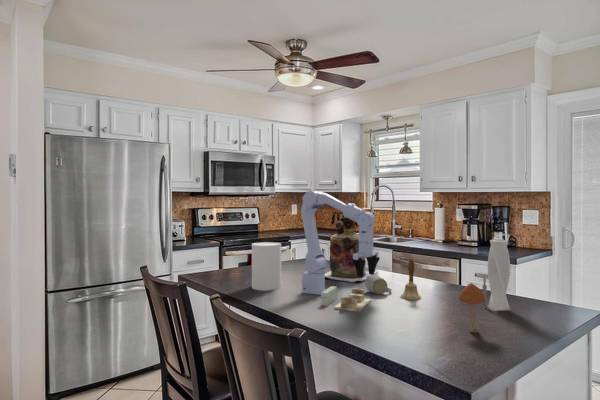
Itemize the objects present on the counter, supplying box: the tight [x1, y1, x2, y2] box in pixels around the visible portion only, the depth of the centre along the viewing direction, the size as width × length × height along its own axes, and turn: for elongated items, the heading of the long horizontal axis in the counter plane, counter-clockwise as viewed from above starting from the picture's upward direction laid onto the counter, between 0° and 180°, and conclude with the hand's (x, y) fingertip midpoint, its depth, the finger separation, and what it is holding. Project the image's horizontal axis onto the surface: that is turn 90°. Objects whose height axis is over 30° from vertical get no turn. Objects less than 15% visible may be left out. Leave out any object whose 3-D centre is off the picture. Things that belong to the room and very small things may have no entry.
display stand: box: [333, 287, 372, 313], centre depth 154 cm, size 10×16×4 cm, turn 157°
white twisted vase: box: [481, 233, 511, 312], centre depth 148 cm, size 8×8×28 cm
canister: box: [251, 241, 282, 292], centre depth 184 cm, size 14×14×20 cm
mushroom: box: [457, 282, 486, 333], centre depth 123 cm, size 8×8×15 cm
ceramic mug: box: [364, 274, 393, 296], centre depth 173 cm, size 11×8×8 cm
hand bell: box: [400, 258, 422, 301], centre depth 164 cm, size 8×8×16 cm
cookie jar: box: [325, 216, 379, 283], centre depth 207 cm, size 25×25×32 cm
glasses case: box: [320, 285, 338, 307], centre depth 158 cm, size 2×12×5 cm, turn 157°
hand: (365, 275), depth 161 cm, fingers open, 7 cm apart
